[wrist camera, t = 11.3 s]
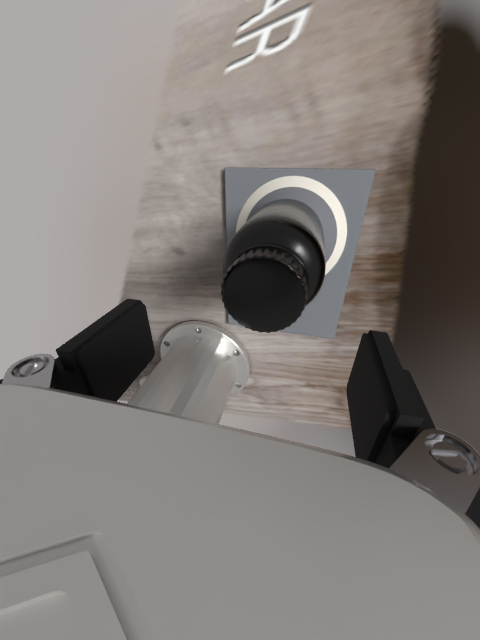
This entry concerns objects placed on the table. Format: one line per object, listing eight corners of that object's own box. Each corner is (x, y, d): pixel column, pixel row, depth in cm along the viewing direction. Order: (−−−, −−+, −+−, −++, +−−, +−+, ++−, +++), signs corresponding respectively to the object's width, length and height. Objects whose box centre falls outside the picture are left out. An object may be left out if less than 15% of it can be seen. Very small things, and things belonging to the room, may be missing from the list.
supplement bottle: (235, 243, 25) (181, 297, 15) (281, 179, 21) (248, 198, 12) (288, 286, 26) (269, 365, 16) (341, 233, 22) (358, 293, 13)
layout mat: (333, 336, 29) (334, 340, 28) (229, 321, 31) (227, 324, 31) (374, 169, 20) (376, 169, 20) (226, 167, 23) (224, 167, 22)
